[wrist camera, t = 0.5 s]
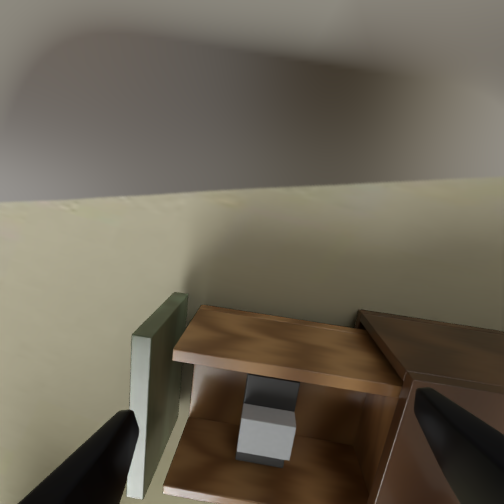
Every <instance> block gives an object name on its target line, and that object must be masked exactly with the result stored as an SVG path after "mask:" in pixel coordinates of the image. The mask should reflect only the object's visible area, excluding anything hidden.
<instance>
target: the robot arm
mask: <svg viewBox="0 0 504 504" xmlns="http://www.w3.org/2000/svg"><path fill="white" fill-rule="evenodd" d="M414 413H415V416H416V418H417V420H418V422H419V424H420V426H421V429H422V431H423V433H424V435H425V437H426V439H427V441H428V443H429V445H430V447H431V450H432V452H433V454H434V456H435V458H436V460H437V462H438V464H439V466H440V468H441V470H442V472H443V474H444V476H445V478H446V480H447V481H448V483H449V485H450V487H451V488H452V490H453V492H454V494H455V495H456V497H457V499H458V500H459V502H460V504H504V434H502V433H501V432H499V431H498V430H496V429H495V428H493V427H492V426H490V425H488V424H487V423H485V422H484V421H482V420H481V419H479V418H478V417H476V416H475V415H473V414H472V413H470V412H469V411H467V410H465V409H464V408H462V407H461V406H459V405H458V404H456V403H455V402H453V401H452V400H450V399H449V398H447V397H445V396H444V395H442V394H441V393H439V392H438V391H436V390H435V389H433V388H431V387H423V388H417V389H416V391H415V400H414ZM138 437H139V426H138V423H137V420H136V417H135V414H134V411H132V410H121V411H119V412H117V413H116V414H115V415H114V416H113V417H112V418H111V419H110V420H108V421H107V422H106V423H105V424H104V425H103V426H102V427H101V428H100V429H99V430H98V431H97V432H95V433H94V434H93V435H92V436H91V437H90V438H89V439H88V440H87V441H86V442H85V443H83V444H82V445H81V446H80V447H79V448H78V449H77V450H76V451H75V452H74V453H73V454H71V455H70V456H69V457H68V458H67V459H66V460H65V461H64V462H63V463H62V464H61V465H60V466H58V467H57V468H56V469H55V470H54V471H53V472H52V473H51V474H50V475H49V476H48V477H46V478H45V479H44V480H43V481H42V482H41V483H40V484H39V485H38V486H37V487H36V488H34V489H33V490H32V491H31V492H30V493H29V494H28V495H27V496H26V497H25V498H24V499H23V500H21V501H20V502H19V503H18V504H119V503H120V500H121V497H122V494H123V491H124V488H125V484H126V481H127V477H128V473H129V470H130V466H131V462H132V459H133V455H134V451H135V448H136V444H137V440H138Z"/></svg>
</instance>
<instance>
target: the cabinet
mask: <svg viewBox="0 0 504 504" xmlns="http://www.w3.org/2000/svg"><path fill="white" fill-rule="evenodd" d="M355 329H362V330H367V331H368V333H369V334H370V335H371V337H372V338H373V340H374V341H375V342H376V344H377V345H378V347H379V348H380V349H381V351H382V352H383V354H384V355H385V356H386V358H387V359H388V361H389V362H390V363H391V365H392V366H393V368H394V369H395V370H396V372H397V373H398V375H399V376H400V377H401V379H402V380H403V381H404V382H403V385H402V389H401V392H400V395H399V399H398V402H397V405H396V408H395V412H394V415H393V418H392V422H391V425H390V428H389V431H388V435H387V438H386V441H385V445H384V448H383V451H382V454H381V458H380V461H379V464H378V468H377V471H376V474H375V478H374V481H373V484H372V487H371V491H370V494H369V497H368V501H367V504H460V502H459V500H458V499H457V497H456V495H455V494H454V492H453V490H452V488H451V487H450V485H449V483H448V481H447V480H446V478H445V476H444V474H443V472H442V470H441V468H440V466H439V464H438V462H437V460H436V458H435V456H434V454H433V452H432V450H431V447H430V445H429V443H428V441H427V439H426V437H425V435H424V433H423V431H422V429H421V426H420V424H419V422H418V420H417V418H416V416H415V413H414V400H415V391H416V389H417V388H423V387H431V388H433V389H435V390H436V391H438V392H439V393H441V394H442V395H444V396H445V397H447V398H449V399H450V400H452V401H453V402H455V403H456V404H458V405H459V406H461V407H462V408H464V409H465V410H467V411H469V412H470V413H472V414H473V415H475V416H476V417H478V418H479V419H481V420H482V421H484V422H485V423H487V424H488V425H490V426H492V427H493V428H495V429H496V430H498V431H499V432H501V433H502V434H504V332H503V331H497V330H490V329H484V328H477V327H471V326H464V325H458V324H451V323H444V322H438V321H431V320H425V319H418V318H412V317H405V316H399V315H392V314H386V313H379V312H372V311H366V310H359V311H358V315H357V319H356V323H355Z"/></svg>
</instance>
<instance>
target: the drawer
mask: <svg viewBox="0 0 504 504" xmlns="http://www.w3.org/2000/svg"><path fill="white" fill-rule="evenodd" d="M187 305H188V294H184V293H177V292H174V293H173V294H172V295H171V296H170V297H169V298H168V299H167V300H166V301H165V302H164V303H163V304H162V305H161V306H160V307H159V308H158V309H157V310H156V311H155V312H154V313H153V314H152V315H151V316H150V317H149V318H148V319H147V320H146V321H145V322H144V323H143V324H142V325H141V326H140V327H139V328H138V329H137V330H136V331H135V332H134V333H133V334H132V341H131V372H130V402H129V410H132V411H134V414H135V417H136V420H137V423H138V426H139V437H138V440H137V444H136V448H135V451H134V455H133V459H132V462H131V466H130V470H129V473H128V477H127V493H126V496H127V497H131V498H136V499H142V500H143V499H144V497H145V494H146V492H147V490H148V487H149V485H150V482H151V480H152V478H153V475H154V473H155V471H156V468H157V466H158V463H159V461H160V459H161V456H162V454H163V452H164V449H165V447H166V444H167V442H168V440H169V437H170V435H171V433H172V430H173V428H174V426H175V423H176V421H177V418H178V412H179V400H180V388H181V376H182V364H183V362H184V363H190V364H194V367H193V378H192V388H191V399H190V409H189V418H188V420H187V423H186V425H185V428H184V431H183V433H182V436H181V439H180V441H179V444H178V447H177V449H176V452H175V455H174V457H173V460H172V463H171V465H170V468H169V471H168V473H167V476H166V479H165V481H164V484H163V494H167V495H173V496H178V497H183V498H188V499H194V500H199V501H204V502H210V503H215V504H367V501H368V497H369V494H370V491H371V487H372V484H373V481H374V478H375V474H376V471H377V468H378V464H379V461H380V458H381V454H382V451H383V448H384V445H385V441H386V438H387V435H388V431H389V428H390V425H391V422H392V418H393V415H394V412H395V408H396V405H397V402H398V399H399V395H400V392H401V389H402V385H403V382H404V381H403V380H402V379H401V377H400V376H399V375H398V373H397V372H396V370H395V369H394V368H393V366H392V365H391V363H390V362H389V361H388V359H387V358H386V356H385V355H384V354H383V352H382V351H381V349H380V348H379V347H378V345H377V344H376V342H375V341H374V340H373V338H372V337H371V335H370V334H369V333H368V331H367V330H362V329H355V328H349V327H343V326H336V325H330V324H323V323H317V322H311V321H304V320H298V319H291V318H285V317H278V316H272V315H266V314H259V313H253V312H246V311H240V310H234V309H227V308H221V307H214V306H208V305H201V306H200V308H199V309H198V311H197V313H196V314H195V316H194V317H193V319H192V320H191V322H190V323H189V325H188V327H187V328H186V317H187ZM185 329H186V330H185ZM247 373H251V374H257V375H263V376H269V377H275V378H281V379H287V380H293V381H299V382H300V387H299V392H298V397H297V402H296V407H295V420H296V431H295V436H294V441H293V446H292V451H291V456H290V460H289V461H288V460H285V461H284V466H283V468H278V467H273V466H267V465H262V464H256V463H251V462H245V461H240V460H236V459H235V457H236V450H237V442H238V435H239V428H240V420H241V413H242V406H243V399H244V393H245V386H246V379H247Z"/></svg>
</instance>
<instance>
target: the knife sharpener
mask: <svg viewBox="0 0 504 504" xmlns="http://www.w3.org/2000/svg"><path fill="white" fill-rule="evenodd" d="M299 387H300V382H299V381H293V380H287V379H281V378H275V377H269V376H263V375H257V374H251V373H247V379H246V386H245V393H244V399H243V406H242V413H241V420H240V428H239V435H238V442H237V450H236V457H235V459H236V460H240V461H245V462H251V463H256V464H262V465H267V466H273V467H278V468H283V466H284V461H285V460H288V461H289V460H290V456H291V451H292V446H293V441H294V436H295V431H296V420H295V407H296V402H297V397H298V392H299Z"/></svg>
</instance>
